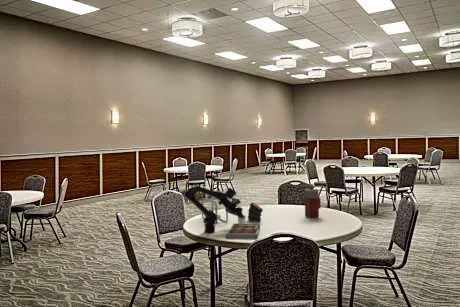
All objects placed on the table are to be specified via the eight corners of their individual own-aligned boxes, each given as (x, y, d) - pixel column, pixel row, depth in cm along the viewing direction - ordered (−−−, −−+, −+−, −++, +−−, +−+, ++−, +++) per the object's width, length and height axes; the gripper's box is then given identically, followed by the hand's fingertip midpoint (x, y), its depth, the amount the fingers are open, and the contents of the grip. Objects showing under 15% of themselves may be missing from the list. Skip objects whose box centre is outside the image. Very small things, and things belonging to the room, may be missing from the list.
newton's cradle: (228, 223, 322) (227, 201, 321) (216, 224, 317) (215, 202, 316) (213, 216, 349) (212, 196, 348) (201, 218, 344) (201, 197, 343)
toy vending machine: (321, 217, 334) (321, 184, 333) (308, 218, 332) (308, 184, 331) (317, 215, 342) (316, 183, 341) (305, 216, 341) (304, 183, 340)
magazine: (247, 217, 333) (253, 202, 328) (259, 226, 325) (264, 210, 320) (244, 218, 330) (250, 202, 325) (256, 227, 322) (262, 211, 317)
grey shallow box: (226, 238, 273) (226, 233, 273) (229, 233, 286) (229, 229, 286) (257, 238, 269) (256, 234, 269) (259, 233, 282) (259, 229, 282)
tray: (229, 234, 282) (229, 228, 282) (233, 229, 297) (233, 223, 297) (257, 234, 278) (257, 228, 278) (260, 229, 294) (259, 223, 293)
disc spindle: (239, 228, 300) (239, 216, 300) (237, 227, 305) (236, 215, 305) (246, 227, 302) (246, 216, 302) (244, 226, 307) (243, 214, 307)
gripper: (239, 196, 292) (253, 210, 297) (228, 194, 308) (241, 206, 314) (230, 208, 288) (244, 221, 294) (219, 205, 305) (232, 217, 310)
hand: (240, 216), depth 303 cm, fingers open, 9 cm apart
